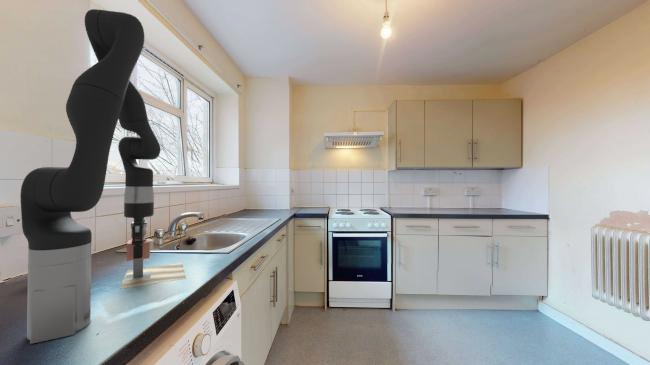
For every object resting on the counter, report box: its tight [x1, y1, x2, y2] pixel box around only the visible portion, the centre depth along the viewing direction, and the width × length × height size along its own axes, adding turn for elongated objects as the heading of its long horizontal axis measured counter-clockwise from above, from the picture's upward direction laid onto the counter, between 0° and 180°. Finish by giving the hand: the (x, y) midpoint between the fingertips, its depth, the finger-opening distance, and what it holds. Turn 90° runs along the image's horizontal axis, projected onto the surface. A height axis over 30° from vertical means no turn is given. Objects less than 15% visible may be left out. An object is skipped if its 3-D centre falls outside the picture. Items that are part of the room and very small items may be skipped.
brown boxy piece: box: [126, 238, 154, 262], centre depth 82 cm, size 6×6×5 cm
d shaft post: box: [132, 259, 144, 278], centre depth 82 cm, size 2×2×7 cm
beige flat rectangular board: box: [119, 262, 187, 289], centre depth 84 cm, size 18×16×1 cm
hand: (138, 255), depth 82 cm, fingers closed on brown boxy piece, 5 cm apart
